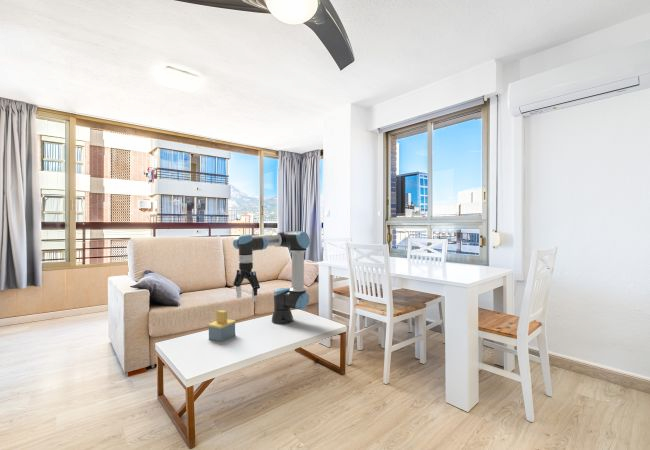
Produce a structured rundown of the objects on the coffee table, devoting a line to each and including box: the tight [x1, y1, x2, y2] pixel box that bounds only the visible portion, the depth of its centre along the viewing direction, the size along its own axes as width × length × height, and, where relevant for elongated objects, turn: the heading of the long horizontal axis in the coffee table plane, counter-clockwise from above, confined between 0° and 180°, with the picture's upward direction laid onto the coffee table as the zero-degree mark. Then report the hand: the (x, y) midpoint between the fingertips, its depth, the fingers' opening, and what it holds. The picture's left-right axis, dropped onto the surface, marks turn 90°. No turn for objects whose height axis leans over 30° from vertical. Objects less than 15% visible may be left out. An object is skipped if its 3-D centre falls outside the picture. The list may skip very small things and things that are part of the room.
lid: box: [207, 309, 237, 329], centre depth 192 cm, size 13×11×9 cm
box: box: [208, 323, 236, 343], centre depth 192 cm, size 12×10×8 cm
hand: (246, 299), depth 175 cm, fingers open, 13 cm apart
